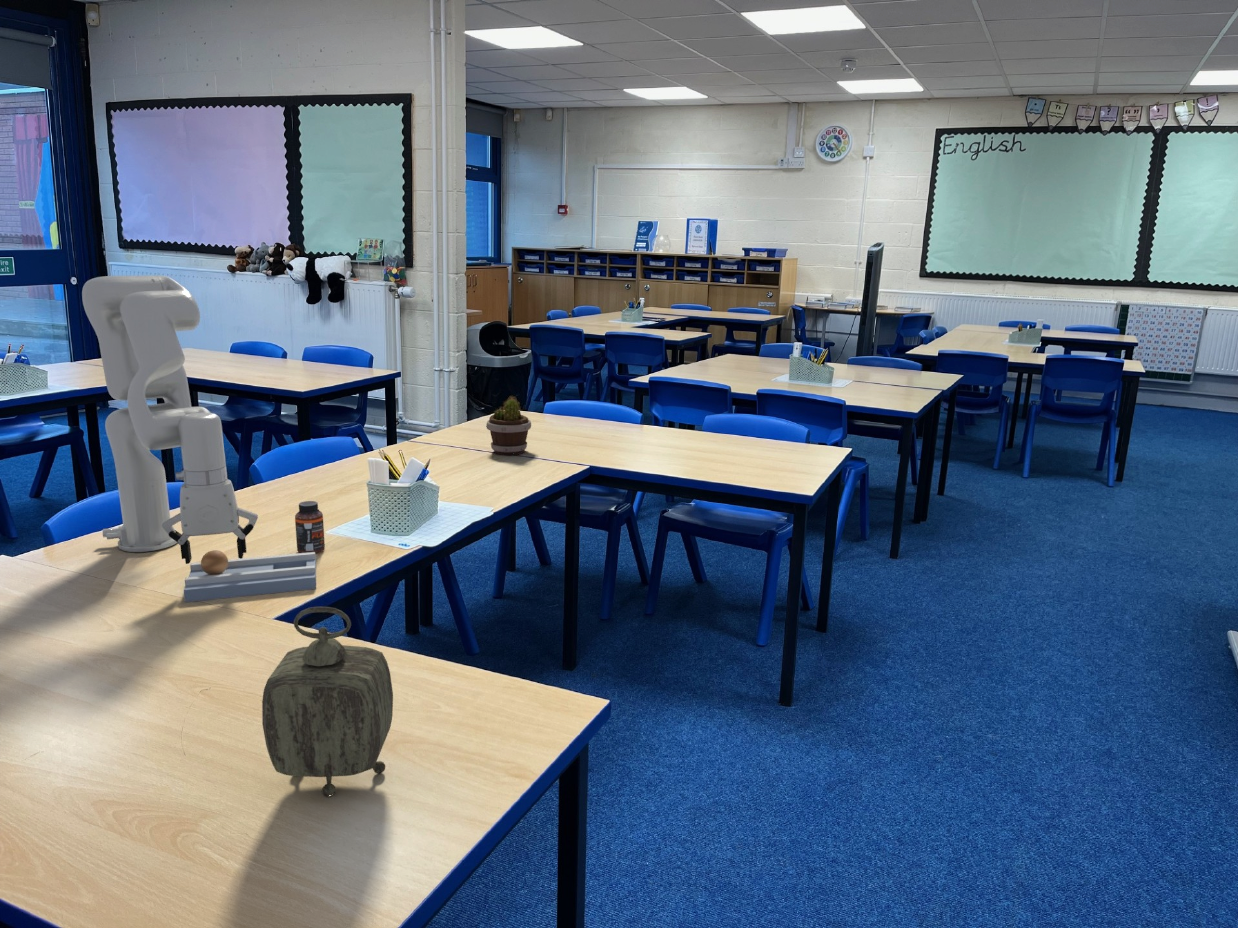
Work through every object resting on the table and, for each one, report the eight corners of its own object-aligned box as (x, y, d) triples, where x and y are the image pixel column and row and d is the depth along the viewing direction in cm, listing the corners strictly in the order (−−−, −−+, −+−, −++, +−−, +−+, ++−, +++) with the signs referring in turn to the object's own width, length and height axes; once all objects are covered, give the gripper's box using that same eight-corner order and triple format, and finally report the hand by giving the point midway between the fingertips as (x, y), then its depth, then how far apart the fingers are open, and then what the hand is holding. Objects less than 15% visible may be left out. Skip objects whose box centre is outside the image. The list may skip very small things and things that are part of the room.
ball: (200, 580, 173) (198, 556, 172) (203, 571, 178) (201, 547, 176) (228, 577, 174) (225, 554, 173) (230, 568, 179) (228, 545, 178)
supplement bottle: (316, 556, 194) (312, 508, 191) (292, 554, 195) (288, 506, 192) (330, 547, 199) (327, 500, 196) (306, 545, 200) (302, 498, 197)
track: (185, 602, 169) (182, 584, 168) (194, 575, 181) (192, 559, 181) (316, 588, 176) (314, 571, 175) (316, 564, 189) (314, 548, 188)
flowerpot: (482, 448, 295) (481, 389, 290) (527, 445, 300) (527, 388, 294) (489, 458, 282) (488, 397, 277) (536, 455, 286) (536, 395, 281)
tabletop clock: (396, 765, 118) (387, 593, 112) (381, 807, 110) (370, 624, 103) (288, 765, 118) (273, 593, 111) (264, 808, 109) (246, 623, 103)
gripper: (153, 484, 165) (164, 570, 169) (252, 477, 170) (260, 560, 174) (159, 475, 172) (170, 557, 176) (254, 468, 177) (262, 548, 181)
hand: (215, 559), depth 175 cm, fingers open, 9 cm apart
